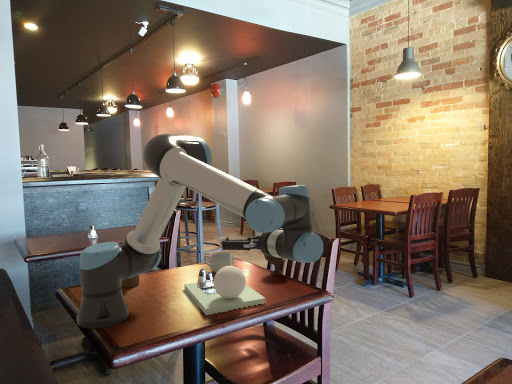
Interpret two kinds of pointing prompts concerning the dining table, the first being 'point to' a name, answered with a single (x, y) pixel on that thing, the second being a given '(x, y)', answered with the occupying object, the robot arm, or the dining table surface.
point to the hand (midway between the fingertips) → (238, 238)
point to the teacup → (218, 260)
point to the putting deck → (220, 304)
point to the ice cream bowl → (275, 264)
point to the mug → (130, 282)
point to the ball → (229, 282)
